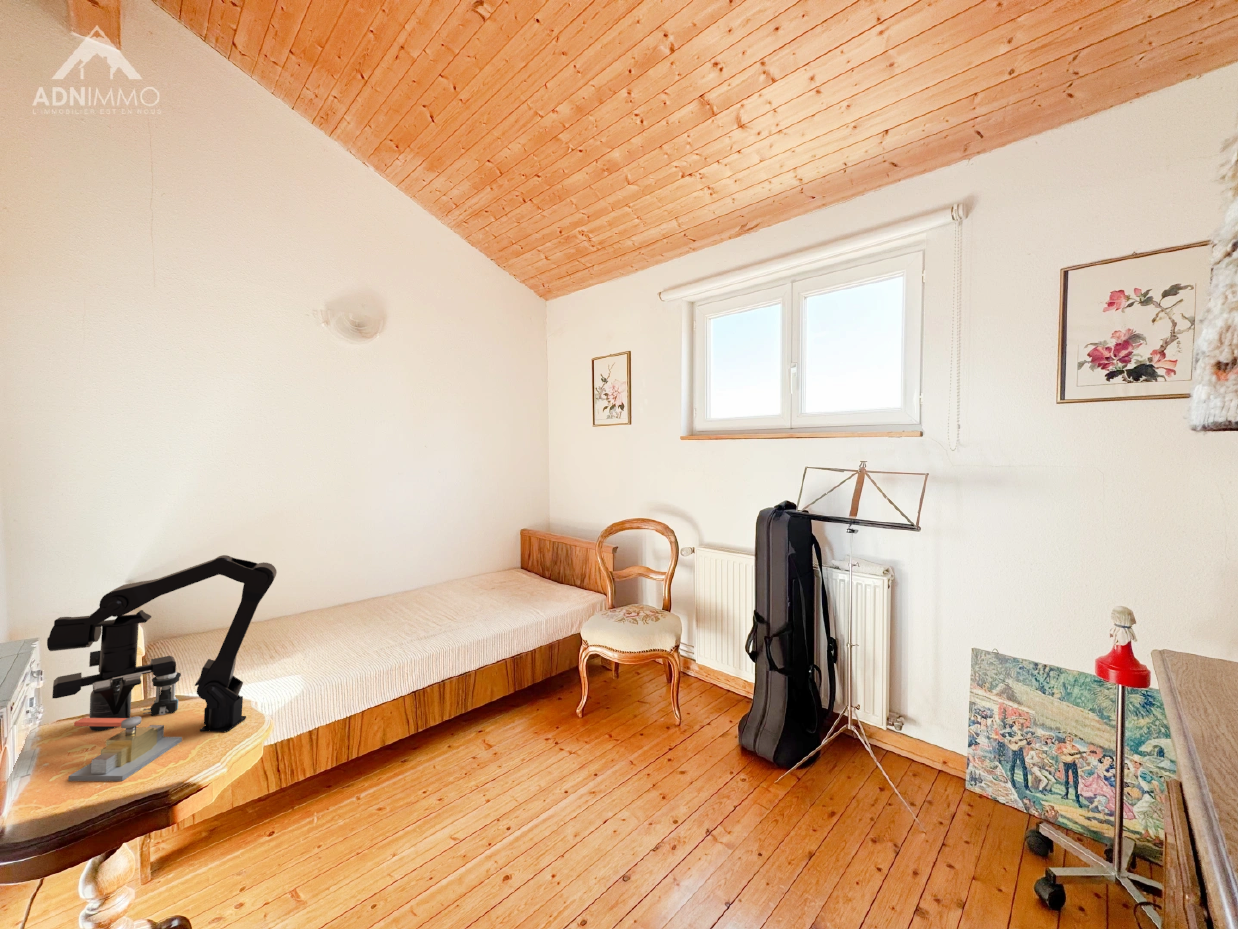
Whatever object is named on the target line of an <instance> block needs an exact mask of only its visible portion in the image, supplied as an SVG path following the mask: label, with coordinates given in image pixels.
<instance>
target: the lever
mask: <svg viewBox="0 0 1238 929" xmlns="http://www.w3.org/2000/svg"><path fill="white" fill-rule="evenodd" d="M141 724H142V716H137V715H136V716H130V718H90V717H82V718H80V719H78V720H76V721H74V722H73V727H89V726H118V727H120V728H121V729H124V730H126V728H132V727H135V726H136V727H137V726H139V725H141Z"/></svg>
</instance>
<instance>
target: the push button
mask: <svg viewBox="0 0 1238 929" xmlns="http://www.w3.org/2000/svg"><path fill="white" fill-rule="evenodd" d="M181 676H182V675H181V672H178V671H176V672H175V673H173V674H169V675H165V676H160V677H157V676H154V677H152V679H151V682H152V686H153V687H155V688H156V689H155V700H154V701H153V704H152V705H151V706H150V707H148V708H144V709H142V711H143V713H142V715H147V714H150V715H151V716H161V715H166V714H175V712H176V711H177V710H178V709H179V699H178V698H177V697H176V686H177V685H176V683H178V682H179V681H180V677H181ZM144 711H146V712H144Z"/></svg>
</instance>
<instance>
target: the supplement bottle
mask: <svg viewBox="0 0 1238 929" xmlns="http://www.w3.org/2000/svg"><path fill="white" fill-rule="evenodd" d="M120 683H121V679H117V680H112V684H113V691H114V698H115V705H116V703H117V698H118V694H119V689H120ZM131 710H132V691H131V692H130V693H129V695H128V696H127V698H126V700H125V702H124V704H123V706H122V708H121V709H120V711H119V713H118V714H115V715H113V714H112V712H111V710H110V707H109V705H108V703H107V701H106V700H105V699H104V697H103V696H102V695H101V694H100V693H97V694H93V690H92V691H91V692H90V697H89V718H131ZM88 728H89V730H90V731H92V732H103V731H109V730H113V729H115V728H119V726H88Z"/></svg>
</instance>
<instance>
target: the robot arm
mask: <svg viewBox="0 0 1238 929" xmlns="http://www.w3.org/2000/svg"><path fill="white" fill-rule="evenodd" d="M277 573H278V572H277V568H276V567H275V565H273V564H272V563H269V562H259V563H257V562H255V561H251V560H247V559H246V560H245V559H241V558H235V557H232V556H230V555H228V554H223V555H222V554H221V555H219V556H217V557H216V558H213V559H210V560H208V561H204V562H202V563H199V564H195V565H194V566H190V567H188V568H184V569H182V570H178V571H176V572H173V573H170V574H167V575H164V576H162V577H159V578H154V579H150V580H143V581H138V582H133V583H128V584H124V585H120V586H119V587H116V588H114V589H112V590H111V591H109V592H107V593H106V594H104V595H103V596H102V598H101V599H100V600H99V604H98V605H99V606H98V608H97V609H96V610H95V611H94V612H92V613H91V614H90V615H85V616H82V615H81V616H60V617H57V619H55V620H54V622H53V626H52V628H51V630H50V632H49V636H48V637H47V638H46V646H47V649H48V650H49V652H56V651H65V650H75V649H84V648H85V649H86V648H90V647H91V646H92V645H93V643H97V642H98V641H99V640H100V638H101V640H100V641H101V642H100V650H95V651H90V652H89V662H88V664H89V666H88V667H89V668H92V667H97V666H98V673H97V674H93V675H87V676H83V675H82V672H78V673H72V674H66V675H62V676H61V675H60V676H58V677H56V678H55V679H54V680H53V686H52V699H60V698H64V697H70V696H73V695H77V693H79V692H80V691H81V690H82V687H83V688H84V687H87V686H92V691H93V694H97V693H100V694H101V695H102V696H103V697H104V699H105V700H106V701H107V703H108V705H109V707H110V710H111V712H112V714H113V715H115V714H118V713H119V711H120V709H121V708H122V706H123V704H124V702H125V700H126V698H127V696H128V695H129V693H130V692H131V693H132V691H133V689H134V688H135V687H136V686H138V685H141V684H142V679H141V677H142V676H143V675H145V674H151V673H152V675H153V676H154V677H156V676H157V677H160V676H165V675H169V674H173V673H175V672H177V662H176V660H175V658H174V657H173V656H172V655H167V656H161V657H156V658H151V659H150V663H149V664H144V665H139V666H137V659H138V658H137V656H138V640H139V627H140V626H139V625H140V624H143V623H144V624H146V623H147V622H148V621H149V620H150V619H152V615H151V614H149V613H147V612H145V611H144V610H143V609H141V610H138V612H137V613H135V614H128V613H130V612H133V611H135V610H137V609H139V608H140V607H142V606H144V605H146V604H147V603H149V602H151V601H153V600H155V599H157V598H159V597H160V596H163V595H166V594H168V593H171V592H175V591H177V590H180V589H182V588H186V587H189V586H191V585H194V584H196V583H199V582H202V581H204V580H207V579H210V578H213V577H215V576H218V575H220V576H224V577H226V578H228V579H231V580H233V581H236V582H238V583H242V584H243V587H242V593H241V600H240V602H239V605H238V608H237V609H236V612H235V614H234V617H233V619H232V621H231V624H230V626H229V629H227V630H228V631H227V633H226V635H225V638H224V641H223V642H222V645H221V647H220V649H219V652H218V654H217V656H216V657H215V659H211V658H208V659H207V661H206V662H205V663H204V665H203V667H202V668H201V671H200V675H199V678H198V679H197V681H196V682H195V684H194V687H197V688H196V694H197V695H198V697H199V698H200V699H202V700H204V701H205V703H206V706H205V707H204V712H203V713H204V714H203V725H204V726H202V727H201V728H199V732H208V733H209V732H211V733H212V732H219V733H220V732H221V733H222V732H225V733H226V732H230V730H232V729H234V728H235V727H236V726H238V725H239V724H240V723H242V722H243V721H245V720H246V719H247V716H246V715H243V704H244V702H243V700H244V699H243V697H244V696H242V695H240V691H241V689H242V687H243V684H244V682H243V681H242V680H241V679H239V678H238V677H236V676H235V675H234V672H235V667H236V661H237V655H238V653H239V650H240V648H241V646H242V644H243V641H244V638H245V637H246V634H247V632H248V629H249V627H250V625H251V622H252V621H253V618H254V615H255V613H256V611H257V609H258V606H259V603H260V602H261V601H262V599H263V598H264V596H265V595H266V593H267V592H268V590H269V589H270V587H271V586H272V584H273V582H274V580H275V579H276V577H277ZM111 617H113V618H114V619H109V618H111ZM107 619H108V620H107ZM82 676H83V677H82ZM117 679H121V683H120V689H119V694H118V698H117V703H116V705H115V698H114V691H113V684H112V680H117Z"/></svg>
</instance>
